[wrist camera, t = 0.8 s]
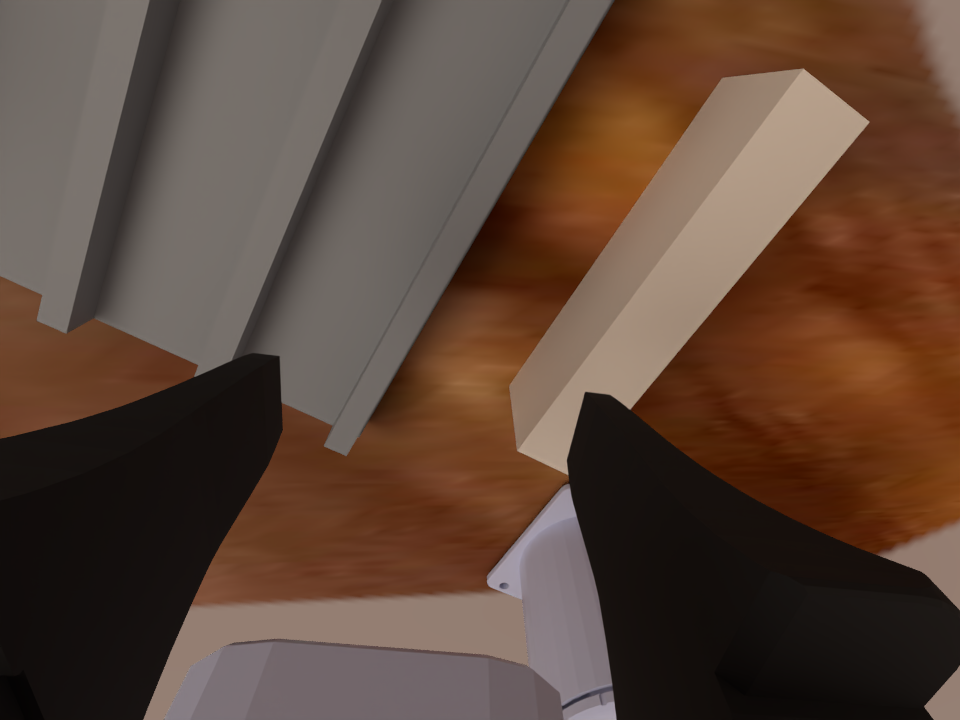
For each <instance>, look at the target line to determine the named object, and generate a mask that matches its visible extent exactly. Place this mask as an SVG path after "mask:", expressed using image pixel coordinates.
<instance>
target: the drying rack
mask: <svg viewBox="0 0 960 720" xmlns="http://www.w3.org/2000/svg"><path fill="white" fill-rule="evenodd" d="M613 2H614V0H0V276H1V277H4V278H6V279H8V280H10V281H13V282H15V283H17V284H19V285H21V286H24V287H26V288H28V289H30V290H33V291H35V292H37V293H39V294H41V295H42V299H41V304H40V308H39V313H38V317H37V321H39V322H41V323H43V324H46V325H48V326H50V327H52V328H55V329H57V330H59V331H62V332H64V333H68V332H70V331H72V330H73V329H75V328H77V327H79V326H81V325H82V324H84V323H86V322H88V321H89V320H91V319H93V318H95V319H97V320H99V321H102V322H104V323H106V324H108V325H110V326H113V327H115V328H117V329H119V330H122V331H124V332H126V333H128V334H130V335H133V336H135V337H137V338H139V339H142V340H144V341H146V342H148V343H150V344H153V345H155V346H157V347H159V348H162V349H164V350H166V351H168V352H170V353H173V354H175V355H177V356H179V357H182V358H184V359H186V360H188V361H190V362H193V363H195V364H197V365H199V366H198V368H197V371H196V373H195V376H194V377H196V376H198V375H200V374H203V373H205V372H207V371H209V370H212V369H214V368H216V367H218V366H221V365H223V364H225V363H227V362H230V361H232V360H234V359H237V358H239V357H242V356H244V355H247V354H251V353H259V354H267V355H276V356H280V375H281V401H282V403H284V404H286V405H288V406H291V407H293V408H295V409H297V410H299V411H302V412H304V413H306V414H308V415H311V416H313V417H315V418H317V419H319V420H322V421H324V422H326V423H328V424H331V425H333V426H332V428H331V431H330V433H329V435H328V438H327V440H326V442H325V444H324V446H325V447H327V448H329V449H331V450H334V451H336V452H338V453H341V454H343V455H345V456H347V454H348V452H349V451H350V449H351V447H352V445H353V444H354V442H355V440H356V439H357V437H360V435H361V433H362V431H363V430H364V428H365V426H366V425H367V423H368V421H369V419H370V418H371V416H372V414H373V413H374V411H375V409H376V407H377V406H378V404H379V402H380V401H381V399H382V397H383V396H384V394H385V392H386V390H387V389H388V387H389V385H390V384H391V382H392V380H393V378H394V377H395V375H396V373H397V372H398V370H399V368H400V366H401V365H402V363H403V361H404V360H405V358H406V356H407V354H408V353H409V351H410V349H411V348H412V346H413V344H414V342H415V341H416V339H417V337H418V336H419V334H420V332H421V331H422V329H423V327H424V325H425V324H426V322H427V320H428V319H429V317H430V315H431V313H432V312H433V310H434V308H435V307H436V305H437V303H438V301H439V300H440V298H441V296H442V295H443V293H444V291H445V289H446V288H447V286H448V284H449V283H450V281H451V279H452V277H453V276H454V274H455V272H456V271H457V269H458V267H459V266H460V264H461V262H462V260H463V259H464V257H465V255H466V254H467V252H468V250H469V248H470V247H471V245H472V243H473V242H474V240H475V238H476V236H477V235H478V233H479V231H480V230H481V228H482V226H483V224H484V223H485V221H486V219H487V218H488V216H489V214H490V212H491V211H492V209H493V207H494V206H495V204H496V202H497V201H498V199H499V197H500V195H501V194H502V192H503V190H504V189H505V187H506V185H507V183H508V182H509V180H510V178H511V177H512V175H513V173H514V171H515V170H516V168H517V166H518V165H519V163H520V161H521V159H522V158H523V156H524V154H525V153H526V151H527V149H528V147H529V146H530V144H531V142H532V141H533V139H534V137H535V136H536V134H537V132H538V130H539V129H540V127H541V125H542V124H543V122H544V120H545V118H546V117H547V115H548V113H549V112H550V110H551V108H552V106H553V105H554V103H555V101H556V100H557V98H558V96H559V94H560V93H561V91H562V89H563V88H564V86H565V84H566V83H567V81H568V79H569V77H570V76H571V74H572V72H573V71H574V69H575V67H576V65H577V64H578V62H579V60H580V59H581V57H582V55H583V53H584V52H585V50H586V48H587V47H588V45H589V43H590V41H591V40H592V38H593V36H594V35H595V33H596V31H597V29H598V28H599V26H600V24H601V23H602V21H603V19H604V18H605V16H606V14H607V12H608V11H609V9H610V7H611V6H612V4H613Z"/></svg>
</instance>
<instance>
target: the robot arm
mask: <svg viewBox="0 0 960 720" xmlns="http://www.w3.org/2000/svg"><path fill="white" fill-rule="evenodd" d="M282 430H283V426H282V401H281V375H280V356H276V355H267V354H259V353H251V354H247V355H244V356H242V357H239V358H237V359H234V360H232V361H230V362H227V363H225V364H223V365H221V366H218V367H216V368H214V369H212V370H209V371H207V372H205V373H203V374H200V375H198V376H196V377H194V378H191V379H189V380H187V381H185V382H182V383H180V384H178V385H175V386H173V387H170V388H168V389H165V390H163V391H160V392H158V393H155V394H152V395H150V396H147V397H145V398H142V399H140V400H137V401H135V402H132V403H129V404H126V405H124V406H121V407H118V408H115V409H112V410H109V411H106V412H102V413H99V414H96V415H93V416H89V417H86V418H83V419H79V420H76V421H72V422H69V423H65V424H61V425H57V426H53V427H48V428H44V429H40V430H36V431H32V432H28V433H24V434H20V435H16V436H12V437H7V438H2V439H0V720H143V719H144V716H145V714H146V711H147V708H148V706H149V703H150V701H151V699H152V696H153V694H154V691H155V689H156V686H157V684H158V681H159V679H160V676H161V674H162V672H163V669H164V667H165V664H166V662H167V659H168V657H169V654H170V652H171V650H172V647H173V645H174V643H175V640H176V638H177V636H178V634H179V631H180V629H181V627H182V624H183V622H184V620H185V618H186V615H187V613H188V611H189V608H190V606H191V604H192V602H193V600H194V597H195V595H196V593H197V591H198V589H199V587H200V585H201V582H202V580H203V578H204V576H205V574H206V572H207V569H208V567H209V565H210V563H211V561H212V559H213V557H214V556H215V554H216V552H217V550H218V548H219V546H220V545H221V543H222V541H223V540H224V538H225V536H226V535H227V533H228V531H229V530H230V528H231V526H232V525H233V523H234V521H235V520H236V518H237V516H238V515H239V513H240V512H241V510H242V508H243V507H244V505H245V503H246V502H247V500H248V498H249V497H250V495H251V493H252V492H253V490H254V488H255V487H256V485H257V483H258V482H259V480H260V478H261V477H262V475H263V473H264V471H265V470H266V468H267V466H268V464H269V462H270V460H271V457H272V455H273V453H274V450H275V448H276V445H277V443H278V440H279V438H280V435H281V433H282ZM567 467H568V476H569V484H567V485H564V486H563V487H561V489H560V490H559V491H558V492H557V493H556V494H555V496H554V497H553V498H552V499H551V500H550V502H549V503H548V504H547V505H546V506H545V508H544V509H543V510H542V511H541V512H540V513H539V515H538V516H537V517H536V518H535V519H534V521H533V522H532V523H531V524H530V525H529V527H528V528H527V529H526V530H525V531H524V533H523V534H522V535H521V536H520V537H519V538H518V540H517V541H516V542H515V543H514V544H513V546H512V547H511V548H510V549H509V550H508V552H507V553H506V554H505V555H504V556H503V557H502V559H501V560H500V561H499V562H498V563H497V565H496V566H495V567H494V568H493V569H492V571H491V572H490V573H489V574H488V576H487V584H488V585H489V586H490V587H491V588H494V589H496V590H499V591H501V592H504V593H506V594H509V595H511V596H514V597H516V598H519V599H521V600H522V603H523V613H524V623H525V632H526V643H527V653H528V663H529V667H528V666H527V665H523V664H519V663H516V662H512V661H508V660H504V659H500V658H496V657H493V656H488V655H481V654H468V653H454V652H441V651H429V650H415V649H403V648H390V647H378V646H364V645H350V644H339V643H325V642H313V641H299V640H287V639H270V640H259V641H248V642H237V643H232V644H229V645H226V646H224V647H222V648H220V649H219V650H217V651H215V652H214V653H212V654H210V655H209V656H207V657H205V658H204V659H202V660H200V661H199V662H197V663H195V664H193V665H192V666H191V667H190V669H189V671H188V673H187V675H186V677H185V679H184V681H183V683H182V685H181V687H180V689H179V690H178V693H177V694H176V696H175V698H174V700H173V702H172V704H171V706H170V708H169V710H168V712H167V714H166V716H165V718H164V720H933V718H932V717H931V716H930V714H929V713H928V712H927V710H926V709H925V708H924V706H925V705H926V704H927V702H928V701H929V700H930V699H931V698H932V697H933V695H935V693H936V692H937V691H938V690H939V689H940V688H941V687H942V685H943V684H944V683H945V682H946V681H947V680H948V679H949V678H950V677H951V675H952V674H953V673H954V672H955V671H956V670H957V668H958V667H959V665H960V610H959V609H958V608H957V607H956V606H955V605H954V604H953V603H952V602H951V601H950V600H949V599H948V598H947V596H946V595H944V593H943V592H942V591H941V590H940V589H939V588H938V587H937V586H936V585H935V584H934V583H933V582H932V581H931V580H930V579H929V578H928V577H927V576H926V575H925V574H923V573H922V572H920V571H918V570H915V569H912V568H910V567H907V566H904V565H902V564H899V563H896V562H894V561H891V560H888V559H886V558H883V557H880V556H878V555H875V554H872V553H870V552H867V551H864V550H862V549H859V548H856V547H854V546H851V545H849V544H847V543H844V542H842V541H840V540H837V539H835V538H833V537H831V536H828V535H826V534H824V533H821V532H819V531H817V530H815V529H812V528H810V527H808V526H806V525H804V524H802V523H800V522H798V521H796V520H793V519H791V518H789V517H787V516H785V515H783V514H782V513H780V512H778V511H776V510H774V509H772V508H770V507H768V506H766V505H764V504H763V503H761V502H759V501H757V500H755V499H753V498H752V497H750V496H748V495H746V494H745V493H743V492H741V491H739V490H738V489H736V488H735V487H733V486H731V485H730V484H728V483H727V482H725V481H723V480H722V479H720V478H719V477H717V476H715V475H714V474H712V473H711V472H709V471H708V470H706V469H705V468H703V467H702V466H701V465H699V464H698V463H696V462H695V461H694V460H692V459H691V458H690V457H688V456H687V455H685V454H684V453H683V452H681V451H680V450H679V449H677V448H676V447H675V446H674V445H672V444H671V443H670V442H668V441H667V440H666V439H665V438H663V437H662V436H661V435H660V434H658V433H657V432H656V431H655V430H654V429H652V428H651V427H650V426H649V425H648V424H646V423H645V422H644V421H643V420H642V419H640V418H639V417H638V416H637V415H636V414H634V413H633V412H632V411H631V410H630V409H628V408H627V407H626V406H625V405H623V404H622V403H621V402H620V401H618V400H617V399H616V398H614V397H613V396H611V395H609V394H601V393H592V392H585V394H584V397H583V401H582V405H581V409H580V412H579V416H578V420H577V424H576V427H575V431H574V435H573V439H572V442H571V446H570V450H569V454H568V457H567Z"/></svg>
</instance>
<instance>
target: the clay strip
mask: <svg viewBox="0 0 960 720" xmlns="http://www.w3.org/2000/svg"><path fill="white" fill-rule="evenodd" d="M868 123H869V121H868V120H866V119H865V118H864V117H863V116H861V115H860V114H859V113H858V112H856V111H855V110H854V109H853V108H852V107H850V106H849V105H848V104H847V103H845V102H844V101H843V100H842V99H840V98H839V97H838V96H837V95H835V94H834V93H833V92H832V91H830V90H829V89H828V88H827V87H825V86H824V85H823V84H822V83H821V82H819V81H818V80H817V79H816V78H814V77H813V76H812V75H811V74H809V73H808V72H807V71H806V70H804V69H796V70H787V71H779V72H770V73H761V74H752V75H743V76H735V77H726V78H722V79H721V80H720V82H719V83H718V85H717V86H716V88H715V89H714V91H713V92H712V93H711V95H710V96H709V98H708V99H707V101H706V102H705V104H704V105H703V106H702V108H701V109H700V111H699V112H698V114H697V115H696V117H695V118H694V119H693V121H692V122H691V124H690V125H689V127H688V128H687V130H686V131H685V132H684V134H683V135H682V137H681V138H680V140H679V141H678V143H677V144H676V146H675V147H674V148H673V150H672V151H671V153H670V154H669V156H668V157H667V159H666V160H665V161H664V163H663V164H662V166H661V167H660V169H659V170H658V172H657V173H656V174H655V176H654V177H653V179H652V180H651V182H650V183H649V185H648V186H647V187H646V189H645V190H644V192H643V193H642V195H641V196H640V198H639V199H638V200H637V202H636V203H635V205H634V206H633V208H632V209H631V211H630V212H629V213H628V215H627V216H626V218H625V219H624V221H623V222H622V224H621V225H620V226H619V228H618V229H617V231H616V232H615V234H614V235H613V237H612V238H611V239H610V241H609V242H608V244H607V245H606V247H605V248H604V250H603V251H602V252H601V254H600V255H599V257H598V258H597V260H596V261H595V263H594V264H593V265H592V267H591V268H590V270H589V271H588V273H587V274H586V276H585V277H584V278H583V280H582V281H581V283H580V284H579V286H578V287H577V289H576V290H575V291H574V293H573V294H572V296H571V297H570V299H569V300H568V302H567V303H566V304H565V306H564V307H563V309H562V310H561V312H560V313H559V315H558V316H557V317H556V319H555V320H554V322H553V323H552V325H551V326H550V328H549V329H548V330H547V332H546V333H545V335H544V336H543V338H542V339H541V341H540V342H539V343H538V345H537V346H536V348H535V349H534V351H533V352H532V354H531V355H530V356H529V358H528V359H527V361H526V362H525V364H524V365H523V367H522V368H521V369H520V371H519V372H518V374H517V375H516V377H515V378H514V380H513V381H512V382H511V384H510V385H509V389H510V397H511V405H512V413H513V421H514V429H515V437H516V445H517V451H519V452H521V453H523V454H525V455H527V456H529V457H531V458H533V459H536V460H538V461H540V462H542V463H544V464H546V465H548V466H550V467H552V468H555V469H557V470H559V471H561V472H563V473H565V474H567V475H568V467H567V457H568V454H569V450H570V446H571V442H572V439H573V435H574V431H575V427H576V424H577V420H578V416H579V412H580V409H581V405H582V401H583V397H584V394H585V392H592V393H601V394H609V395H611V396H613V397H614V398H616V399H617V400H618V401H620V402H621V403H622V404H623V405H625V406H626V407H627V408H628V409H631V408H632V407H633V406H634V404H635V403H636V402H637V401H638V400H639V398H640V397H641V396H642V395H643V394H644V392H645V391H646V390H647V389H648V388H649V386H650V385H651V384H652V383H653V382H654V380H655V379H656V378H657V377H658V376H659V374H660V373H661V372H662V371H663V370H664V368H665V367H666V366H667V365H668V364H669V362H670V361H671V360H672V359H673V358H674V356H675V355H676V354H677V353H678V352H679V350H680V349H681V348H682V347H683V346H684V344H685V343H686V342H687V341H688V340H689V338H690V337H691V336H692V335H693V334H694V332H695V331H696V330H697V329H698V328H699V326H700V325H701V324H702V323H703V322H704V320H705V319H706V318H707V317H708V316H709V314H710V313H711V312H712V311H713V310H714V308H715V307H716V306H717V305H718V304H719V302H720V301H721V300H722V299H723V298H724V296H725V295H726V294H727V293H728V292H729V290H730V289H731V288H732V287H733V286H734V284H735V283H736V282H737V281H738V280H739V278H740V277H741V276H742V275H743V274H744V272H745V271H746V270H747V269H748V267H749V266H750V265H751V264H752V263H753V261H754V260H755V259H756V258H757V257H758V255H759V254H760V253H761V252H762V251H763V249H764V248H765V247H766V246H767V245H768V243H769V242H770V241H771V240H772V239H773V237H774V236H775V235H776V234H777V233H778V231H779V230H780V229H781V228H782V227H783V225H784V224H785V223H786V222H787V221H788V219H789V218H790V217H791V216H792V215H793V213H794V212H795V211H796V210H797V209H798V207H799V206H800V205H801V204H802V203H803V201H804V200H805V199H806V198H807V197H808V195H809V194H810V193H811V192H812V191H813V189H814V188H815V187H816V186H817V185H818V183H819V182H820V181H821V180H822V179H823V177H824V176H825V175H826V174H827V173H828V171H829V170H830V169H831V168H832V167H833V165H834V164H835V163H836V162H837V161H838V159H839V158H840V157H841V156H842V155H843V153H844V152H845V151H846V150H847V149H848V147H849V146H850V145H851V144H852V143H853V141H854V140H855V139H856V138H857V137H858V135H859V134H860V133H861V132H862V131H863V129H864V128H865V127H866V126H867V125H868Z"/></svg>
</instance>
